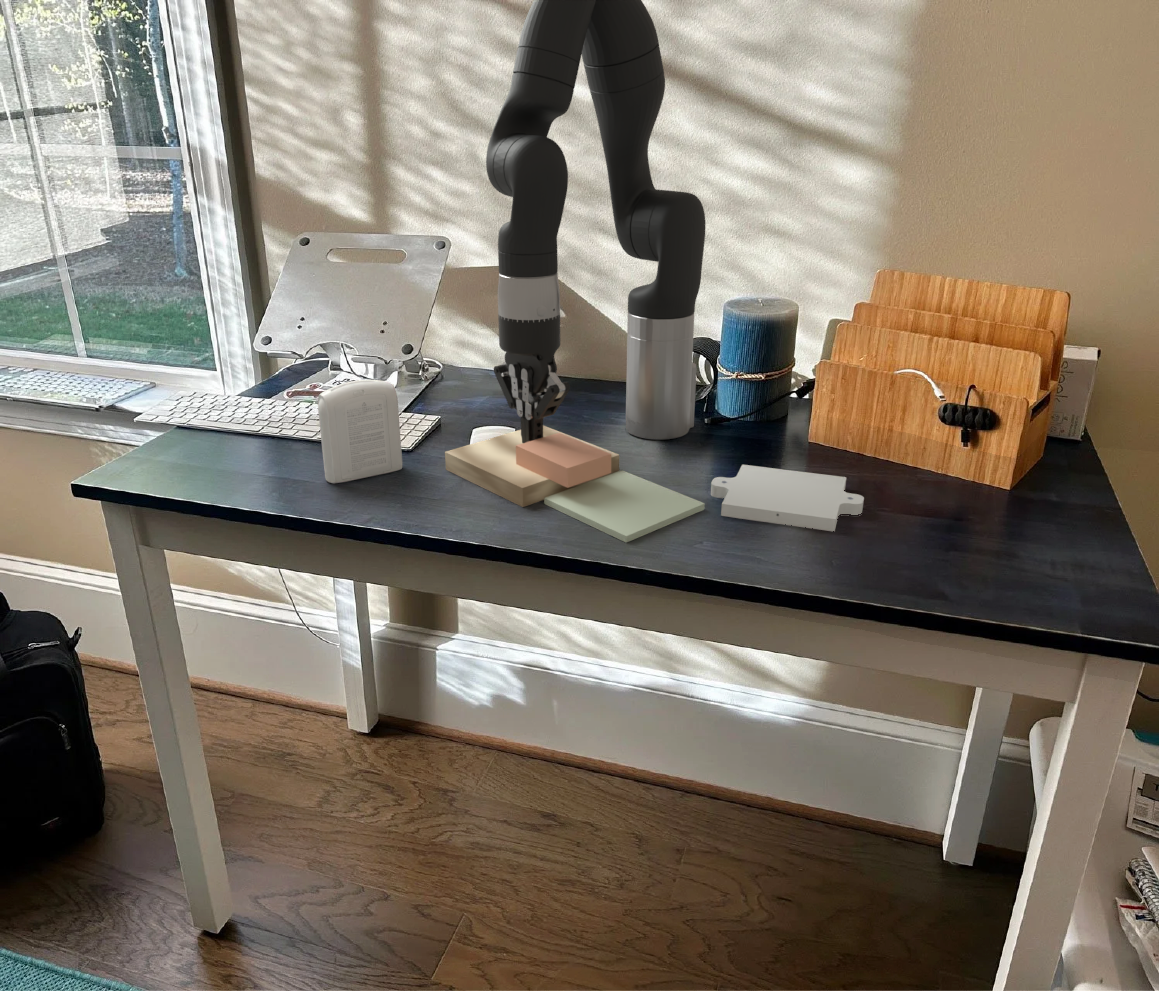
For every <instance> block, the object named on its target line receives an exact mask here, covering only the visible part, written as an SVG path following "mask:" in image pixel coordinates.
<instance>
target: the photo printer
mask: <svg viewBox="0 0 1159 991" xmlns="http://www.w3.org/2000/svg"><path fill="white" fill-rule="evenodd" d="M398 398H399V397H398V393H397V390H396V388H395V385H394V384H393V383H391V382H389V381H386V380H379V379H359V380H352V381H347V382H345V383H341V384H338V385H335V386H333V387H330V388H328V389H326V390H324V391H321V393H320V394H319V395H318V396H317V411H318V413H317V414H318V419H319V420H318V421H319V429H320V430H319V431H320V440H321V451H322V460H323V467H324V479H325V480H326V482H328V483H331V484H338V483H340V484H341V483H346V482H351V481H354V480H356V481H357V480H360V479H364V478H368V477H375V476H378V475H379V476H380V475H384V474H389V473H393V472H396V471H400V470H402V468H403V455H402V454H403V453H402V440H401V429H400V428H401V427H400V414H399V413H400V411H399V399H398Z"/></svg>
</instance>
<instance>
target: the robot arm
mask: <svg viewBox="0 0 1159 991" xmlns="http://www.w3.org/2000/svg"><path fill="white" fill-rule="evenodd" d="M581 58H582V62H583V67H584V71H585V76H586V80H587V84H588V89H589V93H590V96H591V100H592V103H593V106H594V107H593V108H594V111H595V115H596V119H597V120H596V121H597V123H598V129H599V133H600V138H601V139H600V140H601V143H602V144H601V145H602V147H603V153H604V158H605V159H604V160H605V164H606V170H607V171H606V172H607V178H608V184H609V193H610V200H611V201H610V202H611V208H612V215H613V222H614V227H615V233H616V235H617V239H618V242H619V244H620V247H621V248H622V250H623V251H624V252H625V253H626V254H627V255H629V256H630V257H631V258H635V259H639V260H643V261H644V260H645V261H649V262H651V261H652V262H657V263H658V264H657V270H656V275H655V276H656V277H655V278H654V280H653V281H652V282H650V283H648V284H644V285H641V286H638V287H637V286H636V287H634V288H632V290H630V291H629V293H628V296H627V321H626V322H627V324H626V326H627V327H626V328H627V330H626V331H627V332H626V333H627V334H626V336H627V338H626V382H625V383H626V385H625V386H626V387H625V388H626V389H625V390H626V394H625V398H626V399H625V431H626V432H627V433H629V434H630V435H632V436H634V437H637V438H642V439H646V440H670V439H676V438H681V437H683V436H685V435H687V434H688V433H689V431H690V429H691V428H694V425H695V407H696V404H695V403H696V387H697V386H696V385H697V368H698V367H697V364H696V363H694V362H693V357H694V356H693V352H694V330H695V311H696V310H695V309H696V302H697V298H698V296H699V292H700V288H701V287H700V286H701V282H702V280H701V279H702V272H703V271H702V269H703V260H704V251H705V242H706V215H705V214H706V213H705V209H704V206H703V204H702V201H701V200H700V199H699V197H698V196H697V195H695V194H693V193H690V192H685V191H677V190H666V189H665V190H664V189H657V188H656V187H655V186H654V184H653V179H652V175H651V170H650V164H649V143H650V139H651V136H652V131H653V129H654V127H655V123H656V122H657V119H658V116H659V113H660V110H661V106H662V103H663V100H664V96H665V91H666V76H665V70H664V69H665V68H664V64H663V59H662V54H661V49H660V42H659V37H658V33H657V29H656V26H655V24H654V21H653V19H652V17H651V15H650V13H649V11H648V9H647V7H646V6H645V3H644V2H643V1H642V0H533V2H532V3H531V6H530V8H529V10H528V12H527V14H526V17H525V20H524V23H523V25H522V29H521V32H520V37H519V41H518V46H517V51H516V56H515V61H514V66H513V71H512V76H511V82H510V83H511V84H510V88H509V91H508V94H507V96H506V97H505V100H504V103H503V104H502V107H501V108H500V112H499V114H498V117H497V119H496V122H495V125H494V127H493V129H492V132H491V133H490V134H491V135H490V138H489V141H488V145H487V150H486V158H485V159H486V160H485V166H486V174H487V178H488V180H489V182H490V185H492V187H493V188H494V189H495V191H497V192H499V193H501V194H502V195H504V196H507V197H511V198H512V204H511V211H510V221H509V220H508V222H505V223H503V224H502V225H501V226H500V228H499V230H498V231H499V232H498V235H497V239H498V240H497V254H498V256H497V258H498V285H497V315H498V316H497V317H498V341H499V342H498V344H499V348H500V350H502V351H504V352H505V354H504V362H503V363H501V364H498V365H495V366H494V367H493V373H494V375H495V378H496V380H497V382H498V385H499V386H500V388H501V391H502V394H503V396H504V398H505V400H506V402H507V404H508V407H509V408H510V409H511V410H513V409H515V410H516V414H517V415H518V417H520V430H521V437H522V443H526V442H529V441H533V440H536V439H539V438H543V425H544V418H547V417H549V416H553V415H555V414H556V412H557V410H558V409H559V407H560V406H561V404H562V402H564V400H565V398H566V396H567V395H568V394H569V392H570V391H571V390H570V389H571V385H570V383H569V382H568V381H563V382H562V381H561V379H560V378H559V376H558V374H557V370H558V366H557V363H556V360H555V354H556V352H557V351H558V349H560V346H561V291H560V290H561V288H560V283H559V273H558V271H559V270H558V264H559V263H558V261H559V260H558V257H559V256H558V234H559V230H560V227H561V223H562V218H563V213H564V208H565V203H566V198H567V194H568V193H567V192H568V186H569V185H568V184H569V172H568V164H567V160H566V156H565V154H564V152H563V150H562V148H561V147H560V146H559V145H558V143H557V142H555V140H553V139H551V138H550V137H548V135H549V133H550V129H551V126H552V125H553V122H554V121H555V120H556V119H557V118H559V117H561V116H563V115H565V114H566V113H567V112H568V110H569V108H570V106H571V103H572V100H573V97H574V96H573V95H574V90H575V86H576V82H577V77H578V74H579V68H580V65H581V64H580V63H581Z"/></svg>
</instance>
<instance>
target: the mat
mask: <svg viewBox="0 0 1159 991" xmlns="http://www.w3.org/2000/svg"><path fill="white" fill-rule="evenodd" d="M543 501H544V502H543V504H544V505H546V506H548V507H550V508H551V509H554V510H556V511H559V512H561V513H562V514H564V515H567V516H569V517H571V518H573V519H575V520H577V521H579V522H581V523H584V524H586V525H588V526H591V527H592V528H594V529H597V530H598V531H601V532H602V533H605V534H606V535H609V536H611V537H614V538H615V539H618V540H620V541H622V542H624V543H629V542H631V541H633V540H636V539H638V538H642V537H643V536H645V535H647V534H650V533H652V532H654V531H656V530H659V529H662V528H664V527H667V526H669V525H671V524H674V523H676V522H678V521H680V520H683V519H686V518H688V517H690V516H692V515H695V514H697V513H699V512H703V511H704V510H705V505H706V504H705V502H702V501H700V500H697V499H695V498H692V497H690V496H688V495H686V494H682V493H680V492H677V491H675V490H672V489H670V488H667V487H665V486H662V485H660V484H658V483H655V482H653V481H650V480H649V479H648V480H647V479H644V478H643V477H640V476H637V475H635V474H632V473H630V472H627V471H625V470H623V469H622V470H619V471H618V472H615V473H613V474H610V475H607V476H604V477H601V478H599V479H596V480H593V481H590V482H587V483H585V484H582V485H579V486H576V487H573V488H571V489H568V490H565V491H562V492H559V493H557V494H554V495H551V496H548V497H545V498H544V500H543Z"/></svg>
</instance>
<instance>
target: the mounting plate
mask: <svg viewBox="0 0 1159 991" xmlns="http://www.w3.org/2000/svg"><path fill="white" fill-rule="evenodd" d="M846 484H847V477H845V476H839V475H831V474H821V473H813V472H805V471H797V470H792V469H791V470H790V469H789V470H788V469H781V468H774V467H773V468H772V467H766V466H758V465H751V464H750V465H748V464H741V466H740V468H739V470H738V472H737V474H736V476H734V477H725V476H718V477H717V476H716V477H714V478H713V479H712V480H711V482H710V495H711V497H713V498H717V499H723V498H724V499H723V501H722V503H721V509H720V510H721V511H720V516H722V517H729V518H734V519H735V518H736V519H740V520H742V519H743V520H749V521H756V522H762V523H763V522H764V523H769V524H777V525H785V524H786V525H785V526H791V525H792V526H791V527H800V528H805V527H806V528H807V529H812V528H813V530H818V531H819V530H820V531H821V530H822V531H828V532H833V531H834V533H835V532H836V527H837V522H838V520H837V519H839V517H840V516H839V515H840V514H851V515H858V514H861V513H862V514H863V508H864V500H865V497H864V496H863V495H861V494H857V493H850V492H846V487H847V486H846ZM844 490H845V491H844ZM862 514H861V515H862ZM838 516H839V517H838Z"/></svg>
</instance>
